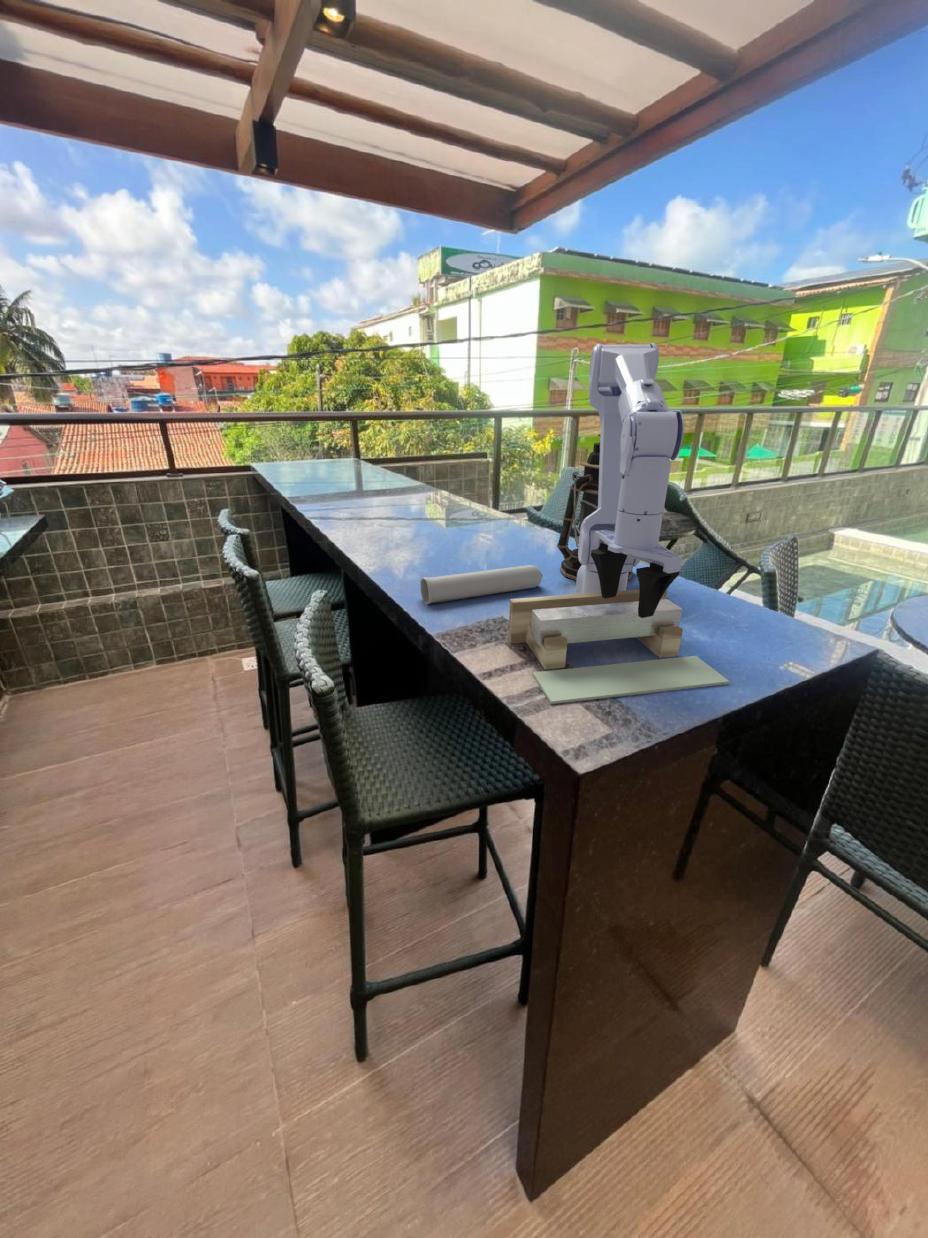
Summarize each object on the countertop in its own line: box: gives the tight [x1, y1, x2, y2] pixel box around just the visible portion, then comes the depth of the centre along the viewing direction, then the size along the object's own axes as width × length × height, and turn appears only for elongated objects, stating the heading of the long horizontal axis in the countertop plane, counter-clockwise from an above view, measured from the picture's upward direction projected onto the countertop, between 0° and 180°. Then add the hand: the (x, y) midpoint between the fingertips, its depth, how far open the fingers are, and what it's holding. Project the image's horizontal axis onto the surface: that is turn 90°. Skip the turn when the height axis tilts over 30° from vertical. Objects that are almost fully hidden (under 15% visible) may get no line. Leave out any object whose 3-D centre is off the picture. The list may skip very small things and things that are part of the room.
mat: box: [531, 655, 730, 705], centre depth 70 cm, size 8×26×1 cm, turn 101°
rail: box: [531, 598, 683, 646], centre depth 76 cm, size 4×22×4 cm, turn 101°
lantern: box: [556, 433, 634, 582], centre depth 106 cm, size 20×16×30 cm
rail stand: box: [508, 589, 684, 671], centre depth 78 cm, size 10×26×7 cm, turn 101°
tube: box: [419, 564, 543, 606], centre depth 99 cm, size 5×5×25 cm
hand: (626, 606), depth 72 cm, fingers open, 7 cm apart
